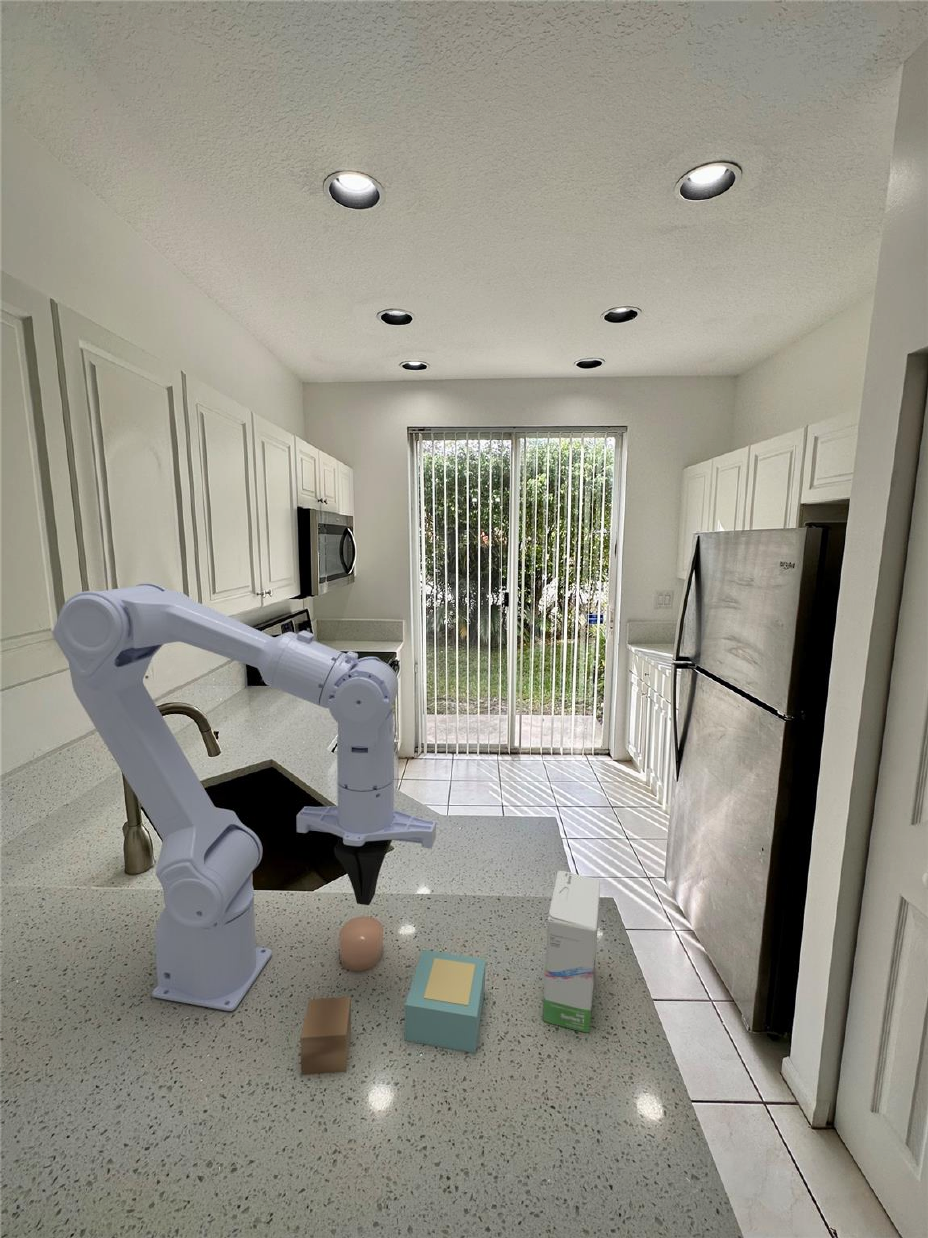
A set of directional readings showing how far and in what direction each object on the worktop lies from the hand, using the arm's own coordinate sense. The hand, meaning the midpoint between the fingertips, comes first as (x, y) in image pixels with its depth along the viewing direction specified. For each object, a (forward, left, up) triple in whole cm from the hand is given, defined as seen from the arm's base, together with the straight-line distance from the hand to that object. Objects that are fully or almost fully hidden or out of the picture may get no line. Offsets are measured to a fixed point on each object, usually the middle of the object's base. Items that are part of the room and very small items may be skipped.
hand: (366, 898), depth 56 cm
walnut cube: (-1, -8, -10) cm, 13 cm away
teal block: (+6, -2, -8) cm, 10 cm away
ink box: (+22, +3, -11) cm, 25 cm away
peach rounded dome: (-2, +4, -10) cm, 11 cm away
